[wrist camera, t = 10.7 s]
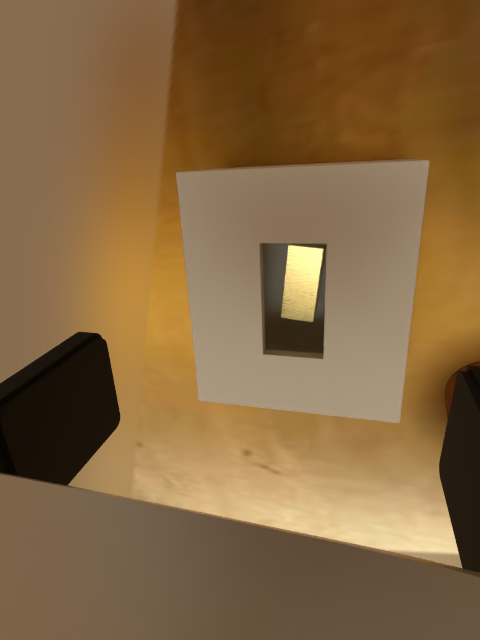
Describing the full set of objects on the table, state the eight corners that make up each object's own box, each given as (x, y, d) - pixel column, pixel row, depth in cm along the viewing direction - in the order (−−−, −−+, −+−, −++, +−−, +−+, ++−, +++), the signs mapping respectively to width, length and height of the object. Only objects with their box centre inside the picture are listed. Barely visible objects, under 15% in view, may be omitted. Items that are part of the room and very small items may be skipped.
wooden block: (290, 296, 35) (298, 232, 33) (318, 300, 34) (327, 236, 32) (280, 317, 30) (288, 245, 28) (312, 322, 30) (323, 249, 28)
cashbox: (225, 167, 33) (175, 172, 24) (408, 158, 29) (429, 160, 20) (235, 344, 39) (198, 400, 30) (389, 355, 35) (399, 423, 26)
